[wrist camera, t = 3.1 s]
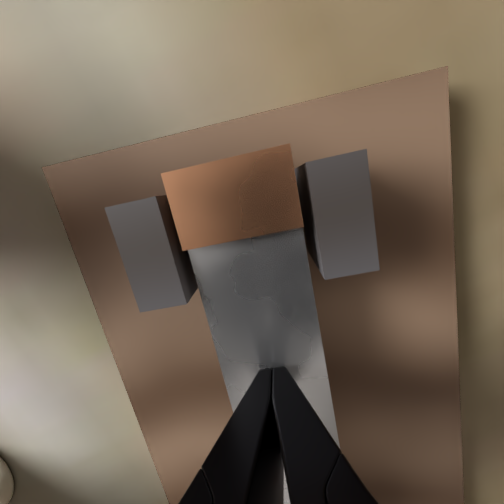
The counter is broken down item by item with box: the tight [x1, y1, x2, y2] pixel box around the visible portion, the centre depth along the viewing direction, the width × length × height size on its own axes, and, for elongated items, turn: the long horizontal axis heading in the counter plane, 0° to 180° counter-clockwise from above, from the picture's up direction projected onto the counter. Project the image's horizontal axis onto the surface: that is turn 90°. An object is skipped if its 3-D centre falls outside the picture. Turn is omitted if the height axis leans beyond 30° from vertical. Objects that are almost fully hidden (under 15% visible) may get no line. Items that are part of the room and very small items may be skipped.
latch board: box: [42, 66, 464, 504], centre depth 11 cm, size 22×14×4 cm, turn 12°
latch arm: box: [161, 143, 340, 504], centre depth 9 cm, size 19×4×2 cm, turn 12°
